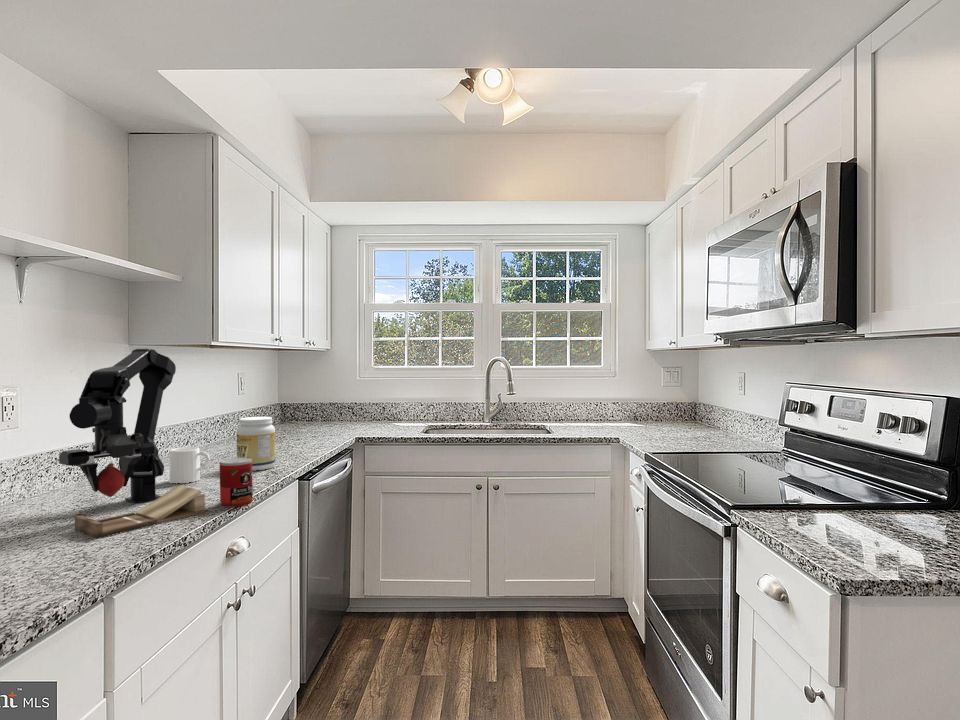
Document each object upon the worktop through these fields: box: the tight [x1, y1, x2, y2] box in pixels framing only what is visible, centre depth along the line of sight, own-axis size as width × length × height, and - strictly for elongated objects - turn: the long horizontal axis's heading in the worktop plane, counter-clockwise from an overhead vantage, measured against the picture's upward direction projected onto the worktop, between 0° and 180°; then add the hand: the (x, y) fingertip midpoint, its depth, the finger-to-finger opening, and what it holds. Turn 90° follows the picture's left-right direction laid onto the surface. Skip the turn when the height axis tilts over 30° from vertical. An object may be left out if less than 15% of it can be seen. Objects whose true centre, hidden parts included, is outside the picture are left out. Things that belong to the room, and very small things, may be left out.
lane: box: [74, 508, 205, 539], centre depth 130 cm, size 11×23×3 cm, turn 146°
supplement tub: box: [236, 416, 276, 472], centre depth 192 cm, size 12×12×17 cm
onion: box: [97, 462, 125, 498], centre depth 135 cm, size 6×6×8 cm
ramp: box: [135, 484, 206, 520], centre depth 136 cm, size 10×11×6 cm
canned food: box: [219, 457, 254, 508], centre depth 146 cm, size 8×8×11 cm
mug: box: [169, 446, 211, 485], centre depth 172 cm, size 8×12×10 cm
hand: (110, 489), depth 135 cm, fingers closed on onion, 6 cm apart
